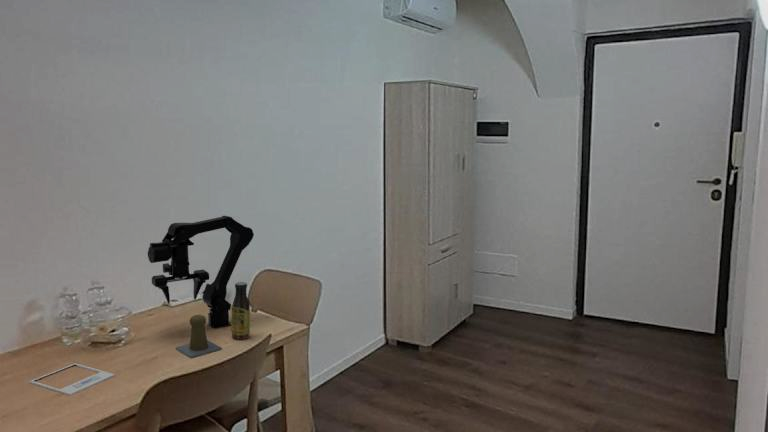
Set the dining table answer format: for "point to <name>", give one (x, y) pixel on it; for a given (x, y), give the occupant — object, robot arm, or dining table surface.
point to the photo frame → (80, 384)
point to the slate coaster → (186, 350)
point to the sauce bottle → (240, 312)
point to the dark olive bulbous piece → (198, 333)
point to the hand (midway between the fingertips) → (181, 301)
